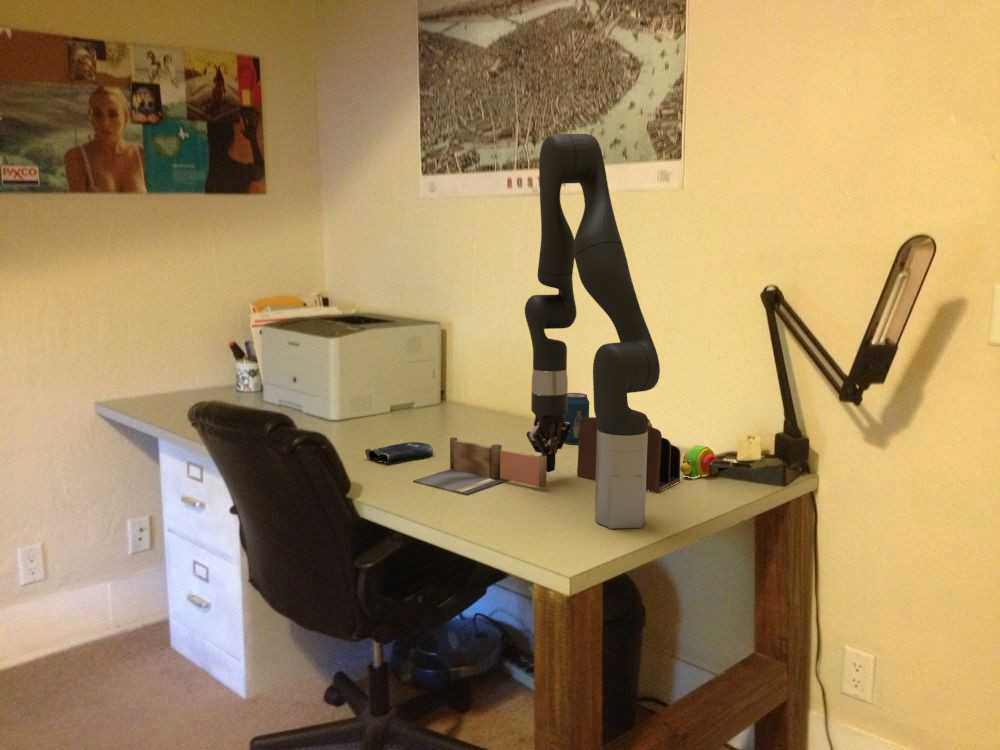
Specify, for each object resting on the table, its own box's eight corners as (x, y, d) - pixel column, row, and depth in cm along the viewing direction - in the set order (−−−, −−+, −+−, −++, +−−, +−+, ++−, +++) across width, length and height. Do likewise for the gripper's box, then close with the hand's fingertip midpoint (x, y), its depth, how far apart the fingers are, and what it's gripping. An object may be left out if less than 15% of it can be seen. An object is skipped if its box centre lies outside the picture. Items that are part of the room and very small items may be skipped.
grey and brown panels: (512, 479, 195) (513, 445, 194) (466, 495, 184) (466, 459, 183) (458, 466, 205) (458, 434, 204) (411, 481, 193) (411, 447, 192)
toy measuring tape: (670, 477, 198) (671, 447, 197) (723, 462, 211) (725, 434, 210) (694, 483, 193) (695, 453, 192) (747, 467, 206) (749, 439, 205)
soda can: (573, 437, 234) (574, 391, 232) (594, 441, 229) (595, 394, 227) (555, 441, 229) (555, 394, 227) (576, 446, 224) (577, 398, 222)
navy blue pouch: (391, 474, 205) (441, 453, 215) (386, 450, 204) (436, 431, 214) (367, 471, 212) (417, 451, 222) (362, 448, 211) (412, 430, 221)
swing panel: (499, 478, 193) (499, 448, 192) (504, 476, 195) (504, 447, 193) (543, 488, 186) (543, 457, 185) (547, 486, 187) (548, 456, 186)
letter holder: (657, 494, 186) (660, 426, 184) (576, 477, 198) (577, 413, 196) (680, 483, 194) (682, 418, 191) (600, 467, 206) (602, 406, 203)
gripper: (553, 384, 198) (552, 461, 200) (515, 392, 187) (515, 474, 190) (582, 388, 193) (580, 467, 196) (545, 397, 183) (544, 480, 186)
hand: (548, 470), depth 193 cm, fingers closed
